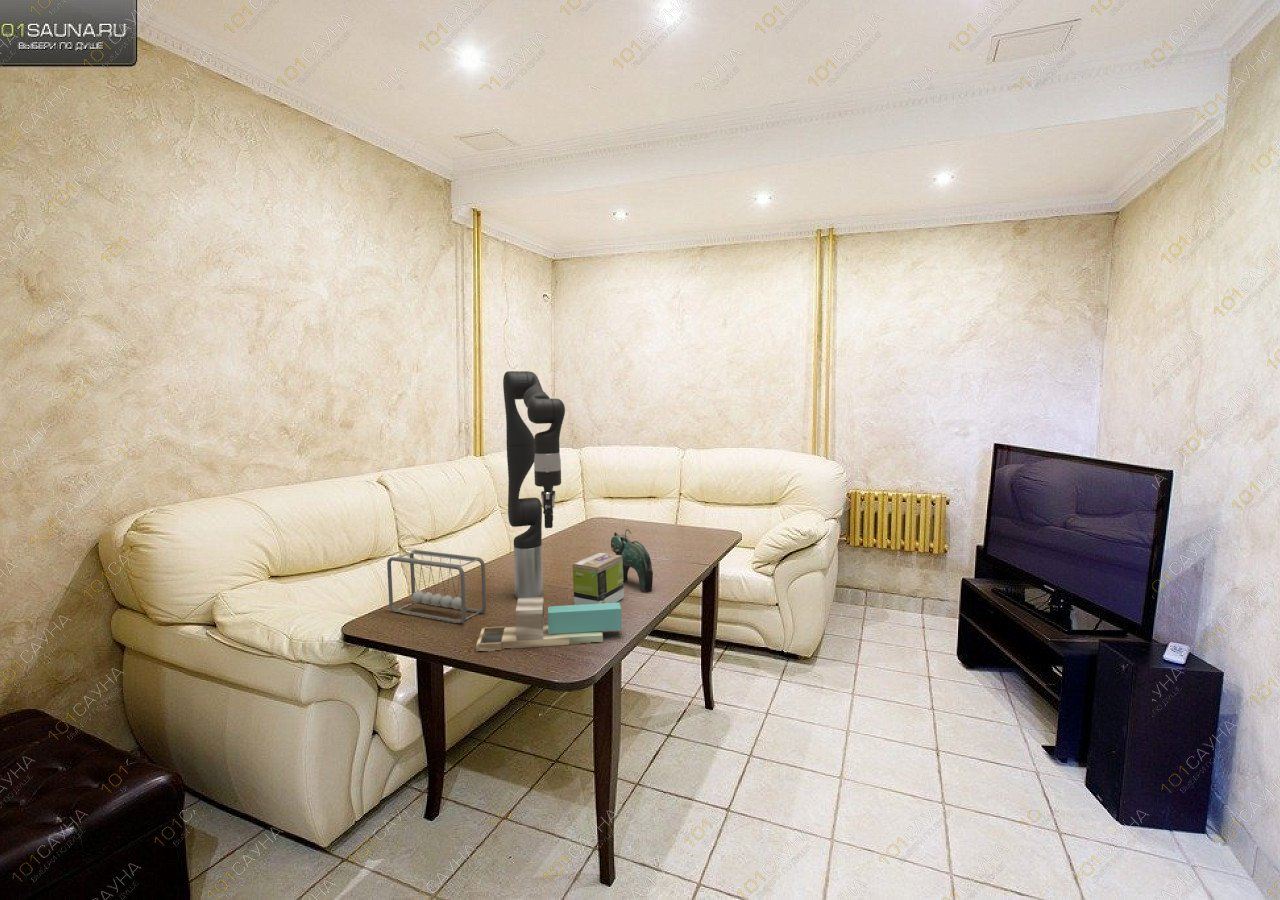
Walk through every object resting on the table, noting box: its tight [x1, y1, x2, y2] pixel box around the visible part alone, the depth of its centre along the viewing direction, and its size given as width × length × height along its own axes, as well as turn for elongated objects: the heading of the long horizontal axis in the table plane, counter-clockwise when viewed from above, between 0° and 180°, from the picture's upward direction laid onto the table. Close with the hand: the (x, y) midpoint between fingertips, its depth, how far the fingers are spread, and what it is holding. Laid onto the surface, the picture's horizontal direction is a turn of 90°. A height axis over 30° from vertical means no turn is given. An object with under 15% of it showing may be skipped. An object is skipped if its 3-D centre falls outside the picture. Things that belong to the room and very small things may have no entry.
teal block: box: [547, 602, 622, 634], centre depth 162 cm, size 5×20×6 cm, turn 98°
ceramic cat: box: [610, 528, 654, 593], centre depth 206 cm, size 20×6×20 cm, turn 37°
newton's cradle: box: [386, 549, 487, 624], centre depth 182 cm, size 30×10×18 cm, turn 66°
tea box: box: [572, 552, 625, 605], centre depth 189 cm, size 15×10×15 cm
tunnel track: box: [475, 596, 604, 652], centre depth 161 cm, size 12×33×10 cm, turn 98°
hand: (549, 524), depth 168 cm, fingers open, 8 cm apart
